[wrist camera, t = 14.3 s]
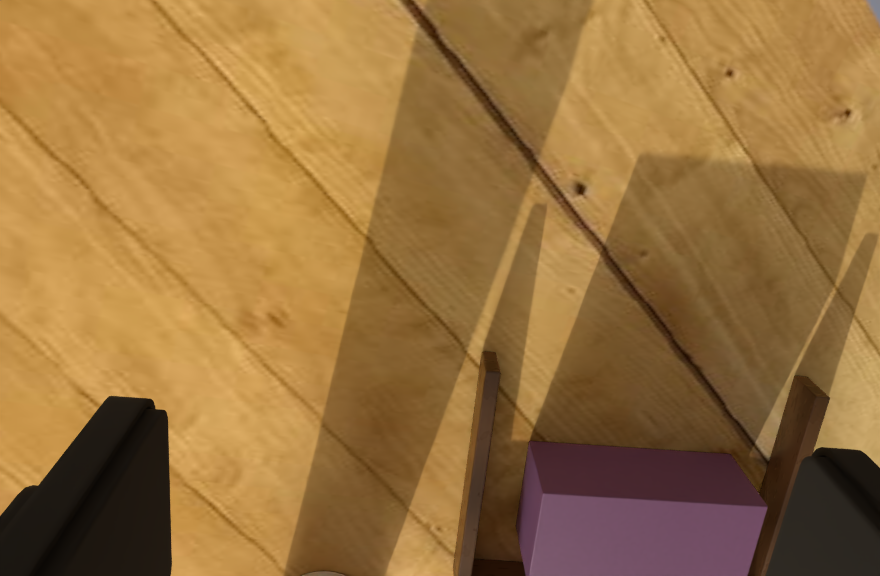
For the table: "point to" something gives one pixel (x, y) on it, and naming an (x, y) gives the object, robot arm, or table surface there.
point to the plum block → (635, 512)
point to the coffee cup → (323, 574)
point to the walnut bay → (777, 486)
